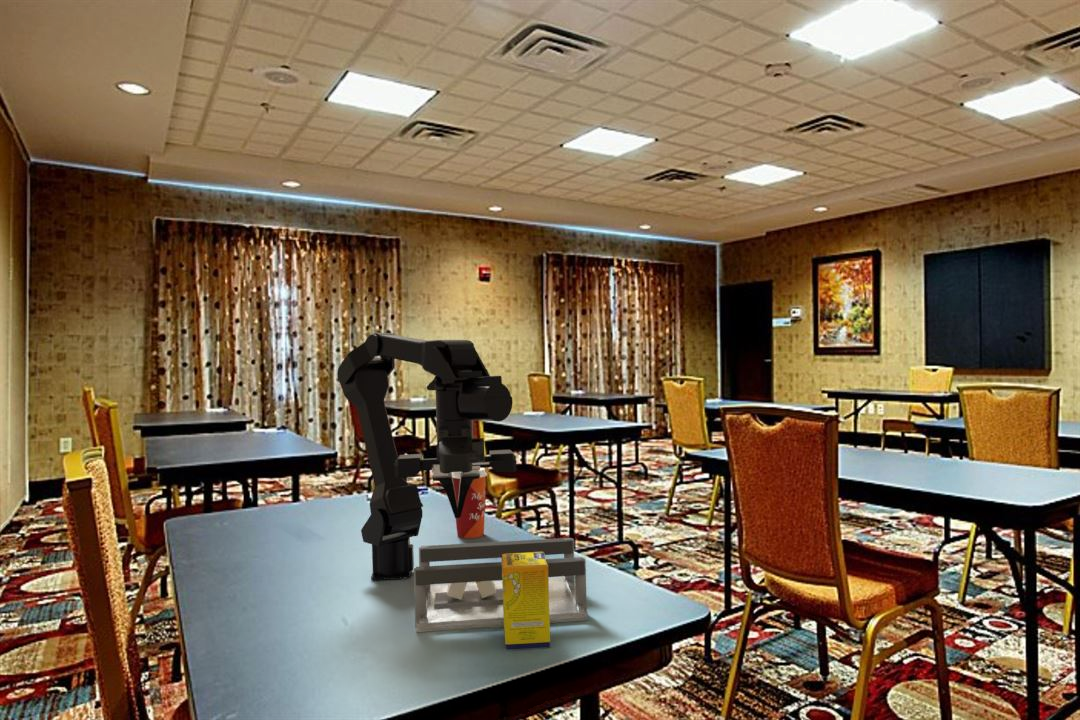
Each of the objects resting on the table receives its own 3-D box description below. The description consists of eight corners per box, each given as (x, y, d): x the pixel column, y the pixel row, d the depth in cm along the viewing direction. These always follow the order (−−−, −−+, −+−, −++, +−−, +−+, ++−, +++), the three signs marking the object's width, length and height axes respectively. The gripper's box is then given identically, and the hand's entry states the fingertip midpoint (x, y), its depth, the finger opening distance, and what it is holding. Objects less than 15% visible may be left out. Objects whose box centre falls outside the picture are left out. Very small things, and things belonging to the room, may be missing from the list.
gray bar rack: (414, 628, 98) (413, 571, 98) (420, 596, 111) (419, 546, 111) (588, 616, 101) (586, 560, 101) (573, 586, 114) (572, 537, 114)
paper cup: (483, 540, 144) (481, 472, 143) (447, 539, 145) (445, 472, 145) (493, 530, 151) (491, 466, 151) (459, 530, 153) (457, 466, 153)
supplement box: (503, 633, 96) (500, 553, 96) (546, 630, 96) (544, 550, 96) (504, 651, 90) (502, 566, 90) (551, 648, 90) (548, 563, 90)
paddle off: (482, 598, 104) (474, 579, 104) (481, 590, 107) (474, 572, 107) (496, 592, 104) (488, 574, 104) (495, 585, 107) (487, 567, 107)
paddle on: (447, 595, 103) (453, 576, 103) (447, 588, 107) (453, 569, 107) (461, 599, 103) (467, 580, 104) (461, 592, 107) (467, 573, 107)
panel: (416, 632, 97) (416, 619, 97) (423, 593, 112) (422, 582, 112) (587, 620, 99) (587, 607, 99) (570, 583, 115) (570, 572, 115)
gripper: (389, 426, 101) (393, 534, 101) (518, 421, 104) (521, 526, 104) (396, 420, 112) (399, 517, 112) (511, 415, 115) (514, 510, 115)
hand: (457, 517), depth 110 cm, fingers closed
